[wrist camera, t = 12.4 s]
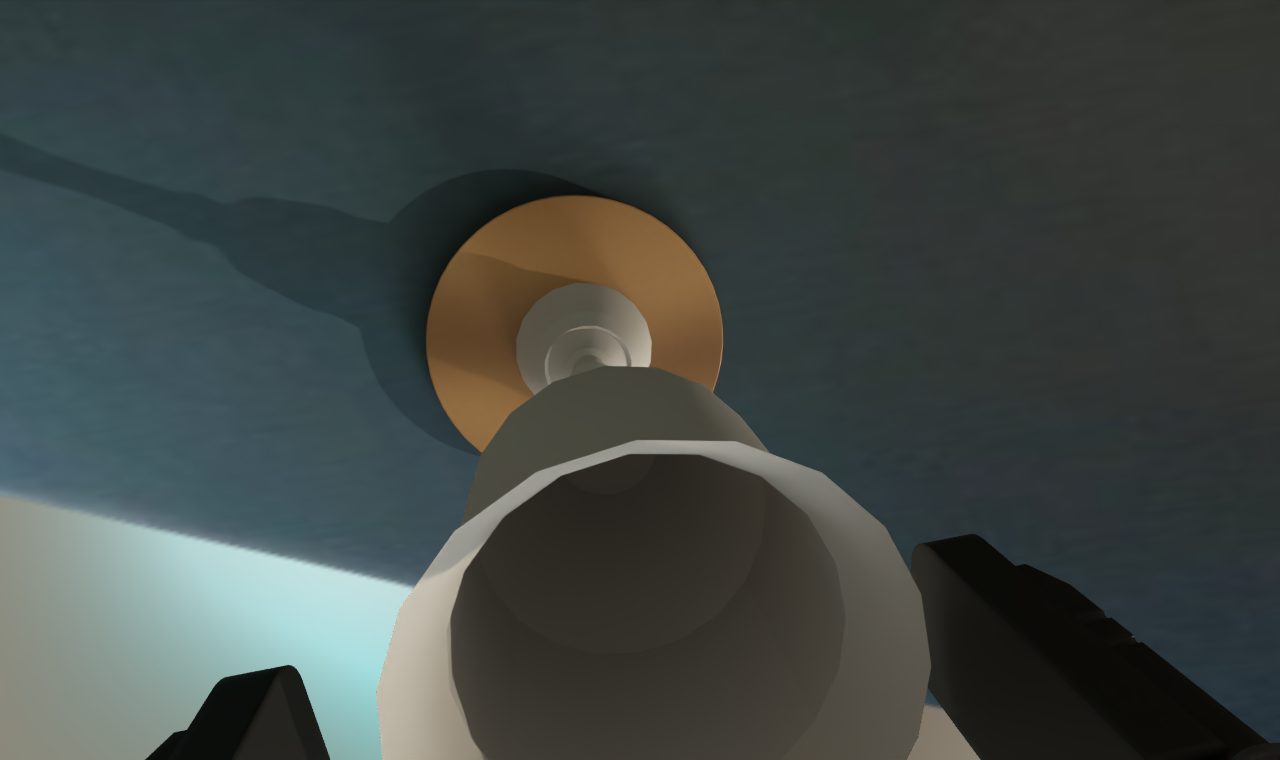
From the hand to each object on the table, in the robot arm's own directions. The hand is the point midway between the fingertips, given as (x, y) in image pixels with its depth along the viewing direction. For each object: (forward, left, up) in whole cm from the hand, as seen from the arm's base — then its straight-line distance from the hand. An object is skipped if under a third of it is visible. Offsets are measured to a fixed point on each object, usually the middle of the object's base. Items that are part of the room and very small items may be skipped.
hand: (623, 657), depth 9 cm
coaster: (0, 0, -18) cm, 18 cm away
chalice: (0, 0, -18) cm, 18 cm away
